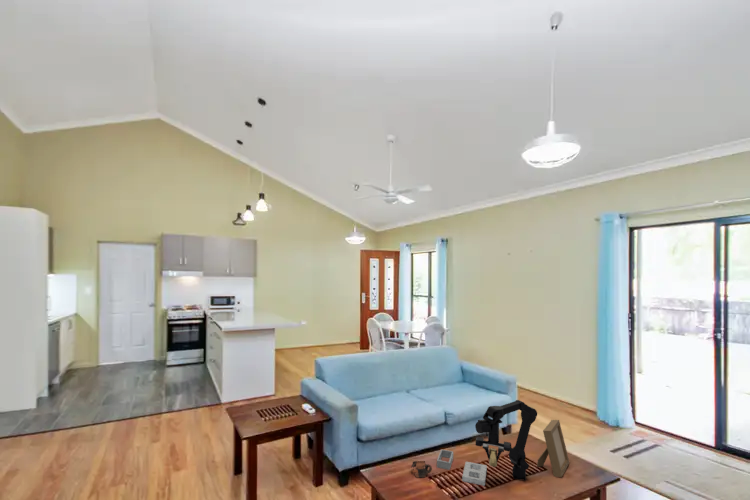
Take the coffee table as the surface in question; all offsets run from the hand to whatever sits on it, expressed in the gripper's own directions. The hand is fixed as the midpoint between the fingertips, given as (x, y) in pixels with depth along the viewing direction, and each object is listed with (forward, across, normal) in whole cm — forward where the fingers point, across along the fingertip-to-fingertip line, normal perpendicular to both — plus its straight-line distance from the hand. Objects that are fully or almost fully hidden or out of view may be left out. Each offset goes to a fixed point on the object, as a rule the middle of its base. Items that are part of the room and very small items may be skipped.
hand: (493, 460), depth 210 cm
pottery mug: (+13, +38, +6) cm, 41 cm away
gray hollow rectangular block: (+12, +28, -12) cm, 33 cm away
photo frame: (+12, -33, -32) cm, 48 cm away
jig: (+12, +10, -4) cm, 16 cm away
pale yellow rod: (+2, 0, 0) cm, 2 cm away
